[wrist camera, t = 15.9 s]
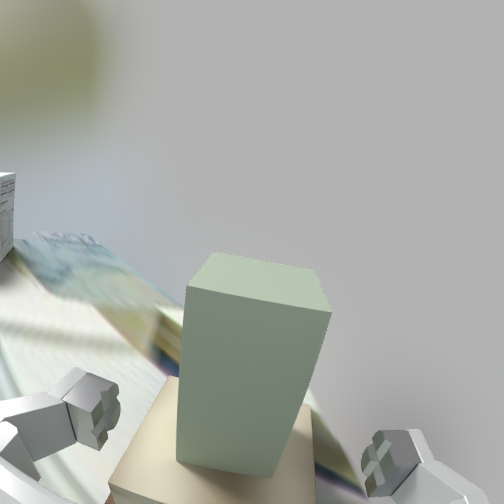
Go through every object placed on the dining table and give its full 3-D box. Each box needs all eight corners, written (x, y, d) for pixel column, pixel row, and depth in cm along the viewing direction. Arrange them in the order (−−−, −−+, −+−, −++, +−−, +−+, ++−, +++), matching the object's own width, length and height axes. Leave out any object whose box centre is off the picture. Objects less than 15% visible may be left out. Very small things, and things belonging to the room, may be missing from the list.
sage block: (175, 460, 13) (186, 285, 10) (195, 402, 17) (214, 251, 15) (271, 478, 12) (331, 312, 10) (273, 417, 17) (314, 270, 15)
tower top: (118, 512, 11) (107, 481, 10) (167, 413, 21) (169, 375, 20) (293, 550, 10) (316, 527, 9) (295, 440, 20) (309, 404, 19)
